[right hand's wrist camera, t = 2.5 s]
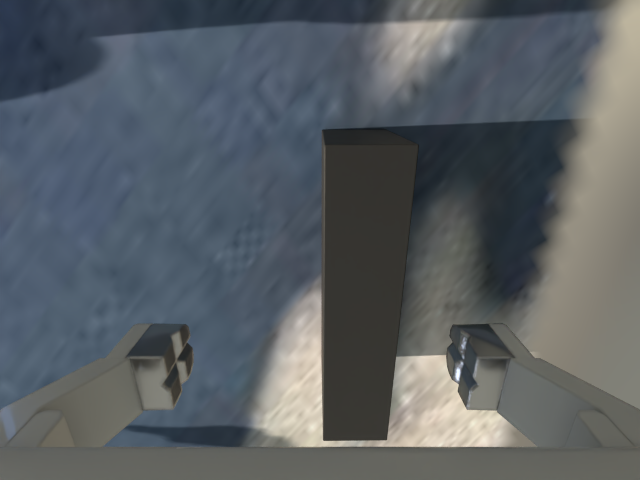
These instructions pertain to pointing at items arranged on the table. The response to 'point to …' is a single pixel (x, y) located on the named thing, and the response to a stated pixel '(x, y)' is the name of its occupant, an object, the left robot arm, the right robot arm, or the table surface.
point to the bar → (362, 275)
